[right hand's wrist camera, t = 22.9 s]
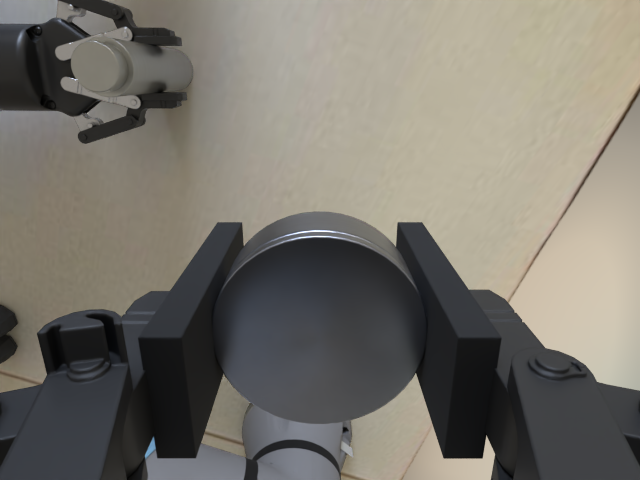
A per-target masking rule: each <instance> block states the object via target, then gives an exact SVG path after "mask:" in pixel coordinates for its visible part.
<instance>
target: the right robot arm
mask: <svg viewBox="0 0 640 480" xmlns="http://www.w3.org/2000/svg"><path fill="white" fill-rule="evenodd" d="M243 247H244V246H243V230H242V222H218V223H217V224H216V226H215V227H214V229H213V230H212V231H211V233H210V234H209V236H208V237H207V239H206V240H205V242H204V243H203V244H202V246H201V247H200V249H199V250H198V252H197V253H196V255H195V256H194V257H193V259H192V260H191V262H190V263H189V265H188V266H187V268H186V269H185V270H184V272H183V273H182V275H181V276H180V278H179V279H178V280H177V282H176V283H175V285H174V286H173V288H172V289H171V291H151V292H149V293H147V294H146V295H144V296H142V297H141V298H139V299H137V300H136V301H134V303H133V304H132V305H131V306H130V307H129V309H128V310H127V311H126V314H124V315H123V316H122V317H121V316H120V315H118V314H117V313H116V312H113V311H108V310H104V309H100V310H85V311H80V312H74V313H71V314H68V315H65V316H62V317H59V318H57V319H55V320H53V321H52V322H50V323H48V324H46V325H45V326H44V327H43V328H42V329H41V330H40V331H39V332H38V333H37V335H38V339H39V344H40V348H41V352H42V356H43V360H44V364H45V368H46V372H47V376H46V378H45V380H44V382H43V384H41V385H37V386H33V387H28V388H23V389H18V390H13V391H8V392H3V393H0V480H341V470H342V467H343V464H344V461H345V458H346V455H347V454H349V455H350V456H351V457H353V451H352V448H351V447H350V443H351V437H352V432H351V420H349V421H344V422H339V423H331V424H308V423H300V422H295V421H290V420H286V419H283V418H280V417H277V416H274V415H272V414H270V413H268V412H266V411H264V410H262V409H260V408H258V407H257V406H255V405H254V404H252V403H251V404H250V405H249V407H248V409H247V411H246V414H245V418H244V422H243V427H242V438H243V444H244V447H245V453H246V458H245V457H242V456H239V455H236V454H233V453H230V452H227V451H223V450H220V449H217V448H214V447H211V446H208V445H205V444H202V443H201V441H202V438H203V435H204V432H205V429H206V426H207V423H208V420H209V417H210V413H211V410H212V407H213V404H214V401H215V398H216V395H217V392H218V389H219V386H220V382H221V379H222V376H223V371H222V369H221V368H220V366H219V363H218V361H217V358H216V356H215V351H214V342H213V331H212V315H213V311H214V307H215V303H216V301H217V298H218V296H219V293H220V291H221V289H222V287H223V285H224V282H225V280H226V278H227V276H228V274H229V272H230V269H231V267H232V265H233V263H234V261H235V259H236V258H237V256H238V254H239V252H240V251H241V250H242V248H243ZM396 248H397V249H398V251H399V252H400V254H401V255H402V257H403V259H404V261H405V263H406V265H407V267H408V269H409V271H410V273H411V276H412V278H413V280H414V282H415V284H416V287H417V289H418V291H419V293H420V295H421V298H422V301H423V304H424V307H425V310H426V316H427V339H426V348H425V352H424V356H423V359H422V361H421V363H420V366H419V368H418V370H417V372H416V374H417V377H418V380H419V383H420V386H421V390H422V393H423V396H424V399H425V402H426V405H427V408H428V411H429V414H430V417H431V420H432V424H433V427H434V430H435V433H436V436H437V439H438V442H439V445H440V448H441V451H442V455H443V458H483V452H484V446H485V440H486V435H487V437H488V439H489V441H490V444H491V446H492V448H493V450H494V452H495V459H494V465H493V471H492V476H491V480H640V391H638V390H633V389H627V388H622V387H617V386H612V385H606V384H603V383H599V382H597V381H596V379H595V377H594V375H593V374H592V373H591V371H590V370H589V369H588V368H587V367H586V365H584V364H583V363H581V362H580V361H578V360H577V359H575V358H574V357H572V356H569V355H567V354H564V353H562V352H559V351H555V350H551V349H546V348H545V347H544V346H543V345H542V344H541V342H540V341H539V340H538V339H537V337H536V336H535V335H534V334H533V333H532V331H531V330H530V329H529V328H528V327H527V325H526V324H525V323H524V322H522V319H521V318H520V317H519V316H518V314H517V313H514V310H513V308H512V307H511V306H510V305H509V304H508V302H507V301H506V300H505V299H504V298H502V297H500V296H499V295H497V294H495V293H493V292H492V291H490V290H468V288H467V287H466V285H465V284H464V282H463V281H462V279H461V278H460V277H459V275H458V274H457V272H456V271H455V269H454V268H453V266H452V265H451V264H450V262H449V261H448V259H447V258H446V256H445V255H444V253H443V252H442V251H441V249H440V248H439V246H438V245H437V243H436V242H435V240H434V239H433V238H432V236H431V235H430V233H429V232H428V230H427V229H426V228H425V226H424V225H423V223H422V222H398V226H397V242H396Z"/></svg>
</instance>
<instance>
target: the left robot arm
mask: <svg viewBox="0 0 640 480" xmlns="http://www.w3.org/2000/svg"><path fill="white" fill-rule="evenodd" d="M87 10H88V11H91V12H94V13H97V14H100V15H103V16H106V17H109V18H111V19H113V20H114V22H115V25H116V27H117V29H116V30H113V31H110V32H107V33H101V34H97V35H93V36H91V35H89V34H88V33H86V32H85V31H84V30H82V29H81V28H79V27H78V26H77V25H75V24H74V23H72V20H73V18H74V17H83V16H85V14H86V11H87ZM132 18H133V15H132V12H131V11H130V10H129V9H127V8H124V7H121V6H118V5H115V4H113V3H110V2H107V1H104V0H58V6H57V15H56V18H53V19H51V20H49V21H48V22H46V23H44V24H0V111H2V110H14V111H60V112H63V113H65V114H67V115H69V116H73V117H74V119H75V121H76V123H77V125H78V127H79V129H80V132H79V134H78V139H79V140H80V142H82V143H84V144H86V143H90V142H94V141H97V140H100V139H103V138H106V137H109V136H112V135H115V134H118V133H121V132H124V131H127V130H130V129H133V128H136V127H139V126H142V125H144V124H145V122H146V119H145V113H146V110H147V109H148V108H176V107H179V106H181V101H184V100H187V93H186V92H158V93H148V94H139V95H129V96H120V97H104V96H100V95H98V94H96V93H92V92H90V91H88V90H86V89H85V88H84V87H83V86H81V84H80V83H79V82H78V81H77V80H76V78H75V76H74V74H73V72H72V69H71V57H72V53H73V51H74V50H75V48H76V47H77V46H78V45H79V44H81V43H83V42H86V41H87V40H89V39H91V38H93V37H98V36H104V37H110V38H116V39H121V40H127V41H132V42H138V43H143V44H149V45H154V46H182V40H181V38H180V37H176V36H175V34H174V31H171V30H169V29H166V28H138V27H137V26H136V25H135V23H134V21H133V19H132ZM101 101H105V102H109V103H115V104H119V105H122V106H125V107H128V110H127V114H126V116H125V117H122V118H119V119H116V120H113V121H110V122H107V123H103V121H102V120H101V119H100V118H91V117H89V116H88V115H87V113H88V112H89V111H90V110H91V109H92V108H94V107H95V106H96V105H97V104H98V103H100V102H101Z"/></svg>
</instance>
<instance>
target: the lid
mask: <svg viewBox="0 0 640 480" xmlns="http://www.w3.org/2000/svg"><path fill="white" fill-rule="evenodd" d="M212 331H213V342H214V351H215V356H216V358H217V361H218V363H219V366H220V368H221V369H222V371H223V373H224V375H225V377H226V378H227V379H228V381H229V382H230V383H231V385H232V386H233V387H234V388H235V389H236V390H237V391H238V392H239V393H240V394H241V395H242V396H243V397H244V398H246V399H247V400H248V401H249V402H251V403H252V404H254V405H255V406H257V407H258V408H260V409H262V410H264V411H266V412H268V413H270V414H272V415H274V416H277V417H280V418H283V419H286V420H290V421H295V422H300V423H308V424H331V423H339V422H344V421H349V420H353V419H356V418H359V417H362V416H365V415H367V414H369V413H372V412H374V411H376V410H377V409H379V408H381V407H382V406H384V405H386V404H387V403H388V402H390V401H391V400H392V399H394V398H395V397H396V396H397V395H398V394H399V393H400V392H401V391H402V390H403V389H404V388H405V387H406V386H407V385H408V383H409V382H410V381H411V380H412V378H413V376H414V375H415V373H416V372H417V370H418V368H419V366H420V363H421V361H422V359H423V356H424V352H425V348H426V339H427V316H426V310H425V307H424V304H423V301H422V298H421V295H420V293H419V291H418V289H417V287H416V284H415V282H414V280H413V278H412V276H411V273H410V271H409V269H408V267H407V265H406V263H405V261H404V259H403V257H402V255H401V254H400V252H399V251H398V249H397V248H396V247H395V245H394V244H393V243H392V242H391V241H390V240H389V239H388V238H387V237H386V236H385V235H384V234H382V233H381V232H380V231H379V230H377V229H376V228H374V227H373V226H371V225H369V224H367V223H366V222H364V221H361V220H359V219H357V218H354V217H351V216H347V215H344V214H339V213H333V212H307V213H300V214H296V215H291V216H288V217H285V218H283V219H280V220H277V221H276V222H274V223H272V224H270V225H268V226H266V227H265V228H263V229H262V230H261V231H259V232H258V233H257V234H255V235H254V236H253V237H252V238H251V239H250V240H249V241H248V242H247V243H246V245H245V246H244V247H243V248H242V250H241V251H240V252H239V254H238V256H237V258H236V259H235V261H234V263H233V265H232V267H231V269H230V272H229V274H228V276H227V278H226V280H225V282H224V285H223V287H222V289H221V291H220V293H219V296H218V298H217V301H216V303H215V307H214V311H213V315H212Z"/></svg>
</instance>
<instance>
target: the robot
mask: <svg viewBox="0 0 640 480" xmlns="http://www.w3.org/2000/svg"><path fill="white" fill-rule="evenodd" d="M17 324H18V323H17V320H16V317H15V314H14V313H13V312H11V311H10V310H8V309H7V308H5V307H4V306H1V305H0V363H2V362H4V361H6V360H7V359H8V358H10V357H11V356H12V355H14V353H15V351H16V348H17V345H16V343H15V342H14V341H13V339H12V338H11V337H9V336H6V335H5V334H6V333H7V332H9V331H10V330H12V329H13V328H14V327H15V326H16V325H17Z"/></svg>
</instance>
